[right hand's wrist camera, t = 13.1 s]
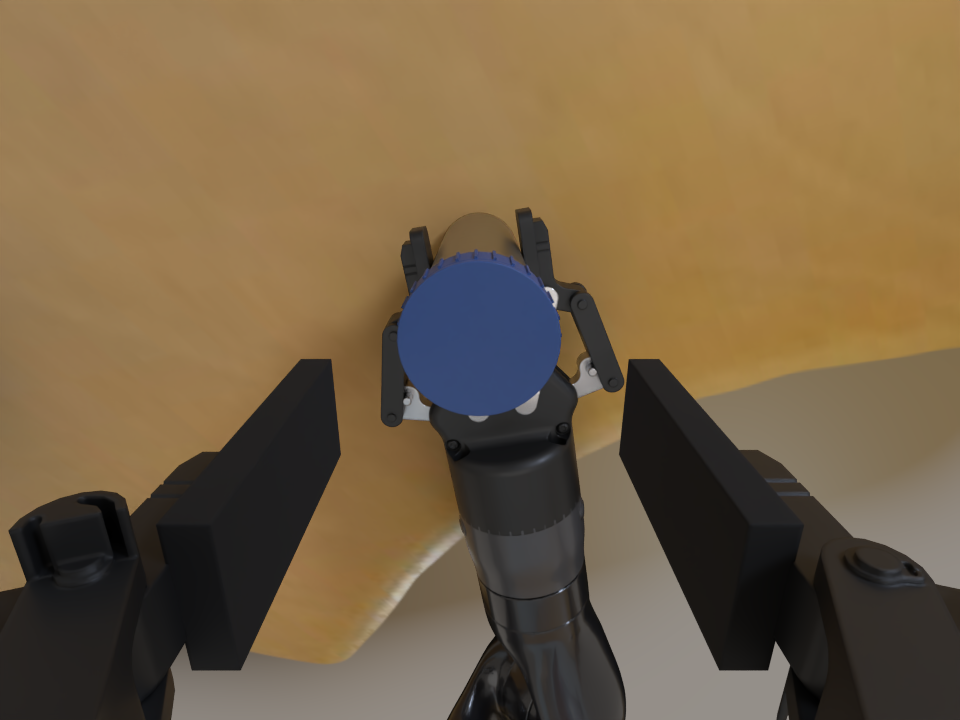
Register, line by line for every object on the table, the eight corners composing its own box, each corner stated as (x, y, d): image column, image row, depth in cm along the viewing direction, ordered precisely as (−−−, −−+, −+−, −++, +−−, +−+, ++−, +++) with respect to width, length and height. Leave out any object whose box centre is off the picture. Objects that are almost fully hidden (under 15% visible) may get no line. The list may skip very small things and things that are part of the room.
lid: (448, 218, 18) (445, 225, 17) (586, 298, 19) (596, 313, 18) (375, 352, 20) (366, 371, 18) (505, 420, 21) (507, 443, 19)
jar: (464, 197, 33) (451, 241, 17) (531, 237, 34) (576, 313, 18) (427, 265, 35) (384, 362, 19) (492, 302, 36) (503, 424, 20)
